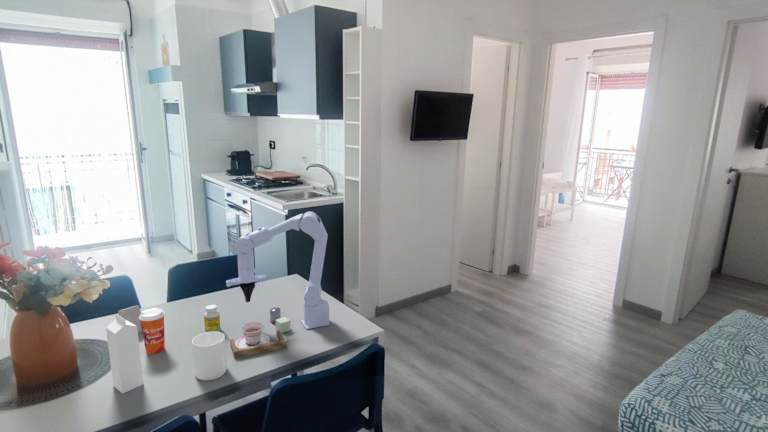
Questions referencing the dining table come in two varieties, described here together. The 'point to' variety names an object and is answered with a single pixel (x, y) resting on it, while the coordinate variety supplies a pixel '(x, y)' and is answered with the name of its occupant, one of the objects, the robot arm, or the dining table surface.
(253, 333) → the teacup
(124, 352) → the milk
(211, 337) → the mug
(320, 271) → the robot arm
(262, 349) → the wooden cradle
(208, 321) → the supplement bottle
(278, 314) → the grey canister
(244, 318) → the dining table surface
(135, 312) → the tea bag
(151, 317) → the paper cup
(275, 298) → the dining table surface
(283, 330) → the sage block
